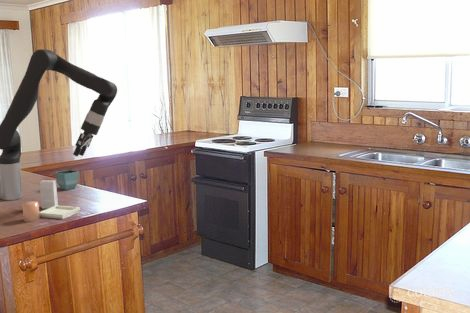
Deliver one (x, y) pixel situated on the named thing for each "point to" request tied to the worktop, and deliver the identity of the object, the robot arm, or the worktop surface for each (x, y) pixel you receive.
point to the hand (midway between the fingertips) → (78, 155)
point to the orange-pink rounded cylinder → (31, 211)
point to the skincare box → (48, 193)
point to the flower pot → (67, 179)
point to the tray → (59, 212)
